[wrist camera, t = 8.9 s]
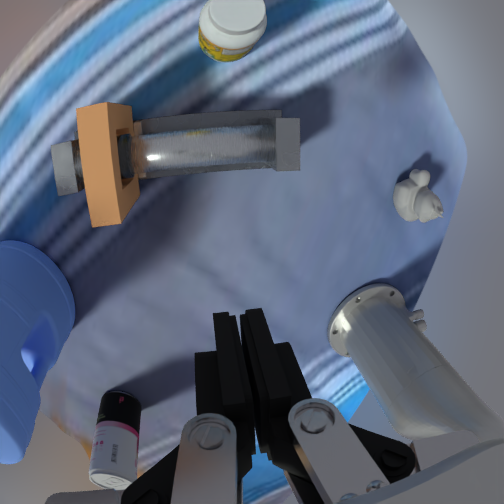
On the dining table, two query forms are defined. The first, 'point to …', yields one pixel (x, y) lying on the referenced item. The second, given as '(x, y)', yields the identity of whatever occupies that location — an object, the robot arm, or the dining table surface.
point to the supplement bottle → (231, 28)
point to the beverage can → (116, 441)
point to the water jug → (28, 338)
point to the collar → (105, 162)
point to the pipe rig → (192, 146)
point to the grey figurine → (416, 198)
